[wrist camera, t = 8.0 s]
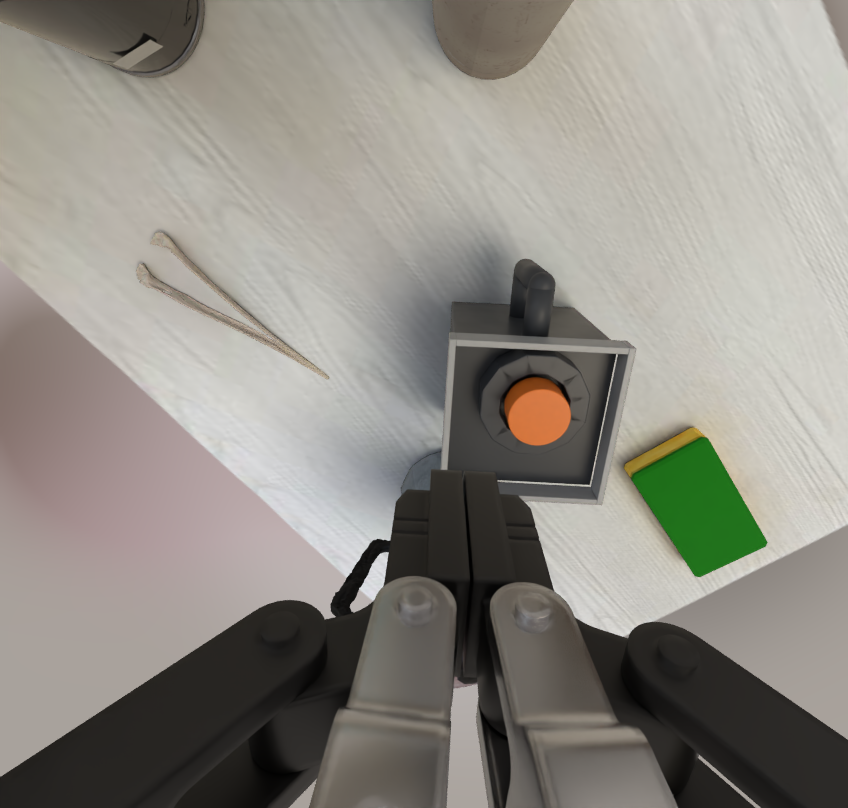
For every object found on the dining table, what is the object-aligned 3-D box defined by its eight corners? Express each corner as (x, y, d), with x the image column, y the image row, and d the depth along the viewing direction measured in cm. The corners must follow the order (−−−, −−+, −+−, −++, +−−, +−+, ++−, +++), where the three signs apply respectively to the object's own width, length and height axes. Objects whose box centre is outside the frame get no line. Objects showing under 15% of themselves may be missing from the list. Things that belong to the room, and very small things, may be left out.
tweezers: (137, 274, 41) (125, 279, 39) (162, 226, 39) (150, 229, 38) (317, 391, 46) (313, 400, 44) (345, 352, 44) (343, 360, 42)
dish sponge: (694, 424, 44) (707, 437, 42) (754, 529, 48) (769, 545, 46) (621, 464, 46) (630, 478, 44) (685, 562, 50) (697, 579, 48)
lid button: (501, 429, 31) (504, 444, 29) (507, 375, 30) (511, 387, 28) (558, 432, 31) (566, 447, 29) (567, 378, 30) (576, 390, 28)
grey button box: (445, 412, 45) (445, 493, 33) (452, 301, 41) (455, 347, 29) (556, 418, 44) (598, 501, 32) (574, 307, 40) (629, 355, 29)
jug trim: (440, 432, 42) (439, 496, 33) (450, 254, 36) (453, 273, 27) (568, 439, 42) (602, 505, 33) (599, 261, 36) (651, 283, 27)
